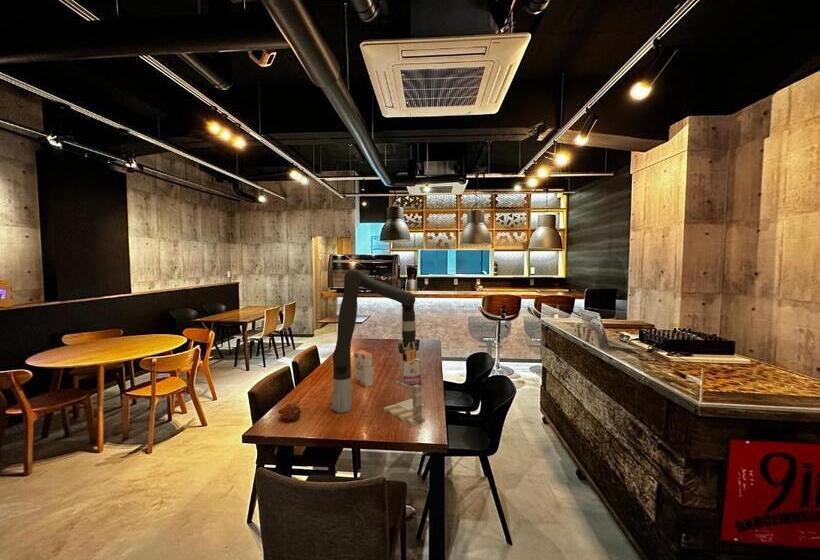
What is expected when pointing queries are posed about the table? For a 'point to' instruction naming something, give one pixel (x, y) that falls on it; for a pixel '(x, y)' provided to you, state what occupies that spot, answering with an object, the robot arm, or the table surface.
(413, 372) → the candy bar box
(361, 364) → the cracker box
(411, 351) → the loop
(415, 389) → the hook stand
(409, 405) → the mat
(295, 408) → the brown rounded piece
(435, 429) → the table surface
